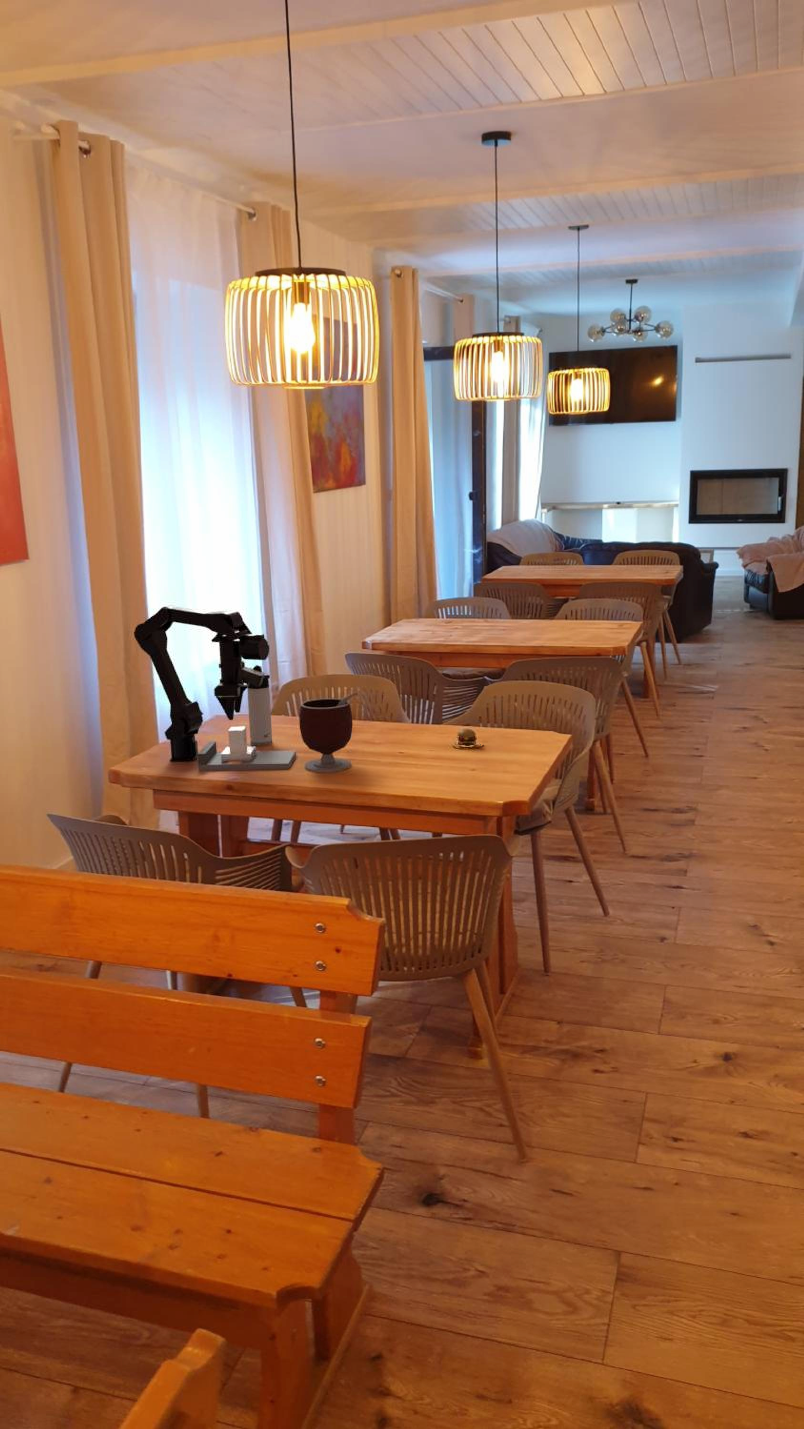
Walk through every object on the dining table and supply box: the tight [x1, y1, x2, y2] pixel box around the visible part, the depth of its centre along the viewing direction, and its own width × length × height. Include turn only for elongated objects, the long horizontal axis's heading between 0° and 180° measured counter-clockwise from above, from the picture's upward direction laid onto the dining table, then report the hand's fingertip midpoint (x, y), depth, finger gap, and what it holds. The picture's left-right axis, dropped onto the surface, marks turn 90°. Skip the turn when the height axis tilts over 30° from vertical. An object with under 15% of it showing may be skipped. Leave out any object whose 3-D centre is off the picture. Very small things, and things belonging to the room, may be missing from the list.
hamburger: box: [457, 728, 478, 746], centre depth 318 cm, size 12×12×6 cm
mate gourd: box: [298, 691, 358, 773], centre depth 299 cm, size 16×14×20 cm
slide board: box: [197, 740, 297, 771], centre depth 307 cm, size 24×14×4 cm, turn 87°
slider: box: [221, 726, 257, 761], centre depth 306 cm, size 8×8×8 cm
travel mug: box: [246, 674, 273, 747], centre depth 327 cm, size 6×7×20 cm
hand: (234, 716), depth 305 cm, fingers open, 9 cm apart
